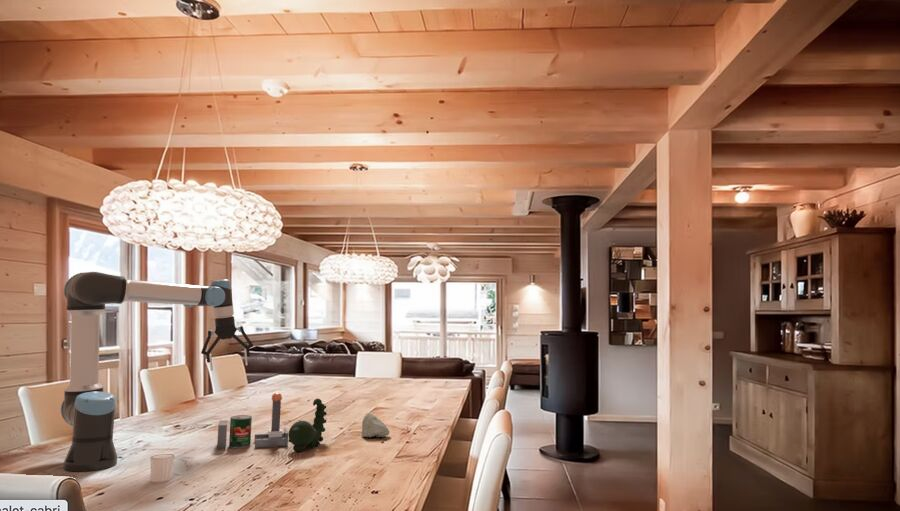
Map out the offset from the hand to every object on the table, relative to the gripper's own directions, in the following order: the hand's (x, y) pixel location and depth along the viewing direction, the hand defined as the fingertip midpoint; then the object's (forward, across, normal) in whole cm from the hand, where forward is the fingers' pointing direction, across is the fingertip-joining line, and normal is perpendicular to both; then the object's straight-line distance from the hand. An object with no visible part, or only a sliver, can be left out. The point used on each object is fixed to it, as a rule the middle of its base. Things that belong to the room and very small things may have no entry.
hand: (229, 367), depth 241 cm
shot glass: (+22, +23, +59) cm, 67 cm away
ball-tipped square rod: (+29, -14, +19) cm, 38 cm away
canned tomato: (+28, -1, +19) cm, 34 cm away
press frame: (+28, -6, +19) cm, 35 cm away
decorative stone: (+36, -54, +18) cm, 67 cm away
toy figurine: (+31, -25, +30) cm, 49 cm away
